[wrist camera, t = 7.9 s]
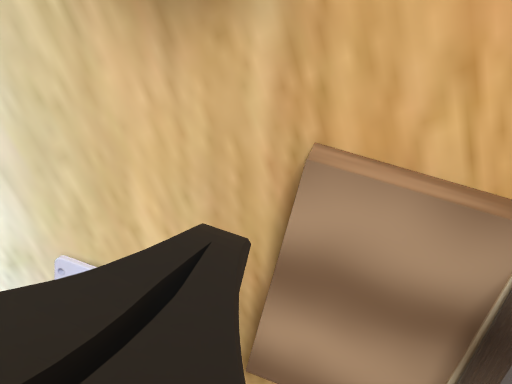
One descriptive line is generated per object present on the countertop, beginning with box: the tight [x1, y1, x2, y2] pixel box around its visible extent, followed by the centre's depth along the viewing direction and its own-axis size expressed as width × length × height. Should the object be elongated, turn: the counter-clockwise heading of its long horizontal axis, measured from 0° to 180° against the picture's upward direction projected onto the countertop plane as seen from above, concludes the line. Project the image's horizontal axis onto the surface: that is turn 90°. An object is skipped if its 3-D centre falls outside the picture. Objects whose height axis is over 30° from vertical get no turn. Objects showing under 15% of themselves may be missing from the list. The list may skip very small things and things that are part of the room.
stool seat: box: [246, 143, 512, 384], centre depth 19 cm, size 12×12×3 cm
